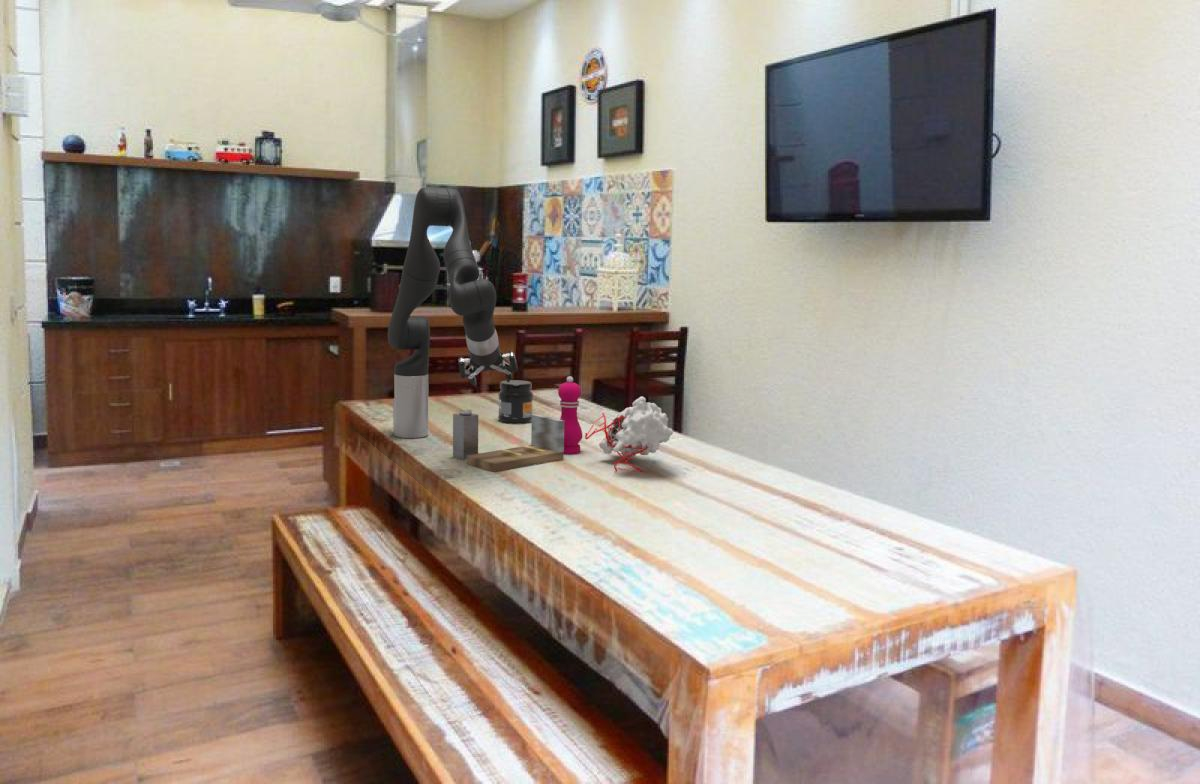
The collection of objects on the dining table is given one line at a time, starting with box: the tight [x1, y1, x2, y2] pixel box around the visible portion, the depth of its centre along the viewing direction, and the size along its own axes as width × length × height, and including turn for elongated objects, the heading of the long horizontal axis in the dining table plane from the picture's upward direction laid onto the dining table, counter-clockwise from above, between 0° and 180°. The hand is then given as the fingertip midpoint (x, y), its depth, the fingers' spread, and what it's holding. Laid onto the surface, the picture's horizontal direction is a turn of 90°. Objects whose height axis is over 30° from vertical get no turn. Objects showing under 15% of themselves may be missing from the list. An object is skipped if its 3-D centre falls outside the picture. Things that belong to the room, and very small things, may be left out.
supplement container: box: [497, 379, 534, 424], centre depth 286 cm, size 10×10×12 cm
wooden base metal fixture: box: [466, 413, 565, 473], centre depth 232 cm, size 11×22×10 cm, turn 134°
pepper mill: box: [557, 375, 583, 455], centre depth 244 cm, size 7×7×20 cm
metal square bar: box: [452, 408, 479, 461], centre depth 235 cm, size 4×4×12 cm
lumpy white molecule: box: [584, 396, 674, 473], centre depth 229 cm, size 20×18×25 cm
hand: (491, 381), depth 238 cm, fingers open, 8 cm apart
